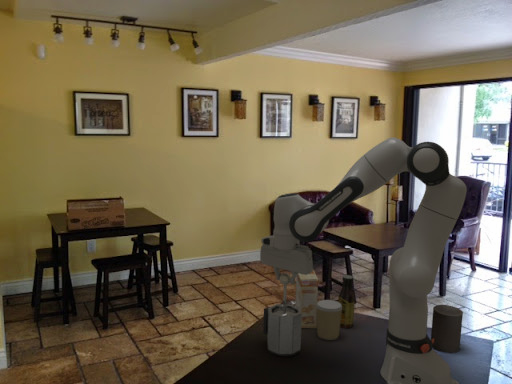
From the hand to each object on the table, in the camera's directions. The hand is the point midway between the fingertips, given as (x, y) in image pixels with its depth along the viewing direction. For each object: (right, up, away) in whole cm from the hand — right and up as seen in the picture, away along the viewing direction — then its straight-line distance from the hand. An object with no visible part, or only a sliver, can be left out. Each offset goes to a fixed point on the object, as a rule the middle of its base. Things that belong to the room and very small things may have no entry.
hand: (285, 281), depth 152 cm
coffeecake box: (+10, -21, +27) cm, 36 cm away
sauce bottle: (+25, -22, +23) cm, 40 cm away
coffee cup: (+17, -23, +14) cm, 32 cm away
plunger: (0, -11, +1) cm, 12 cm away
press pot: (-1, -24, +4) cm, 24 cm away
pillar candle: (+57, -25, +6) cm, 62 cm away
